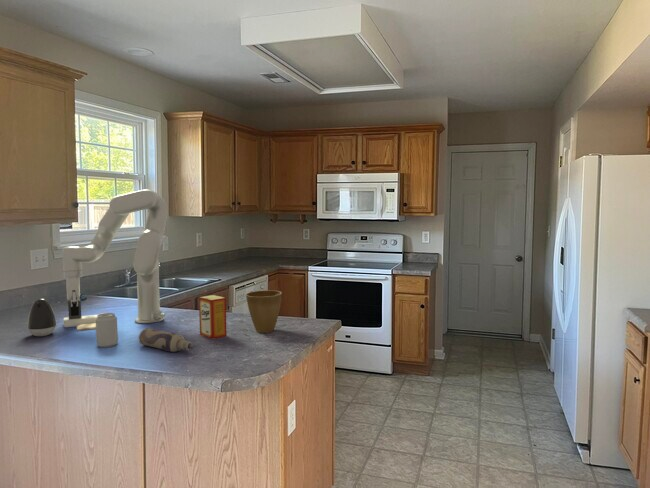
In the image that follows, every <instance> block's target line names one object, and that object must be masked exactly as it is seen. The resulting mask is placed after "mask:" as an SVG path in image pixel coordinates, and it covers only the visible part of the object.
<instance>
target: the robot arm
mask: <svg viewBox="0 0 650 488" xmlns="http://www.w3.org/2000/svg"><path fill="white" fill-rule="evenodd" d="M143 210H147V217H146V222H145V226H144V230H143V232H142V233H141V234H140V236H139V237H138V240H137V243H136V250H135V254H134V258H133V263H132V265H133V270H134V271H135V272H136V288H137V289H136V292H137V314H138V316H137V317H136V318H134V322H135V323H138V324H152V323H159V322H162V321H163V320H164V319H165V317H166V313H162V310H161V305H160V304H161V301H160V261H159V254H160V249H161V247H162V245H163V243H164V236H165V235H164V234H165V230H166V229H165V228H166V225H167V219H168V218H167V217H168V207H167V202H166V201H165V199H164V198H163V197H162V196H161V195H160V194H158V192H156V191H154V190H151V189H141V190H138V191H133V192H128V193H124V194H123V193H122V194H119V195H116V196H114V197H112V198H111V199H110V201H109V207H108V209H107V210H106V212H105V213H104V215H103V216H102V218H101V219H100V221H99V223H98V227H97V228H98V229H97V230H96V231H97V232H96V234H95V235H94V237H93V238H92V240H91V241H90V243H89V245H86V246H78V245H71V246H70V245H69V246H64V247H63V248H62V267H63V269H62V270H63V278H64V279H66V281H65V282H66V283H65V284H66V286H65V287H66V301H67V302H68V301H69V300H71V316H77V315H79V306H78V300H79V299H80V294H81V282H80V280H81V278H82V277H83V276H84V275H83V263H85V264H87V263H88V264H90V263H94V262H96V261H98V260H100V259H101V258H102V257H103V255H104V254H105V252H106V251H107V249H108V247H110V245H111V243H112V242H113V239H114V238H115V236H116V235H117V233H118V232H119V230H120V228H121V227H122V225H123V224H124V223H125V221H126V219H127V218H128V217H129V215H130V214H131V213H137V212H139V211H143ZM72 301H73V302H72ZM76 301H77V302H76ZM72 306H73V307H72Z"/></svg>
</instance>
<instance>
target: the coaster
mask: <svg viewBox="0 0 650 488" xmlns="http://www.w3.org/2000/svg"><path fill="white" fill-rule="evenodd" d="M89 330H96V323H92V324H83V325H77V326H76V331H78V332H81V331H89Z"/></svg>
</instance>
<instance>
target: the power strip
mask: <svg viewBox="0 0 650 488" xmlns="http://www.w3.org/2000/svg"><path fill="white" fill-rule="evenodd" d="M103 313H104V312H101V313H99V314H103ZM99 314H90V315H81V318H80V319H70V320H69V316H68V317H63V328H69V327H77V325H83V324H92V323H96V318H97V317H98V316H97V315H99Z"/></svg>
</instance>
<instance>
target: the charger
mask: <svg viewBox="0 0 650 488" xmlns="http://www.w3.org/2000/svg"><path fill="white" fill-rule="evenodd" d="M72 302H73V301H72ZM76 302H77V301H76ZM67 306H68V307H67V309H68V310H67V311H68V317H69V320H70V319H80V318H81V316H82V302H81V299H80V298H79V300H78V306H79V315H77V316H71V299H69V301H68V300H67ZM72 307H73V306H72Z"/></svg>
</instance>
